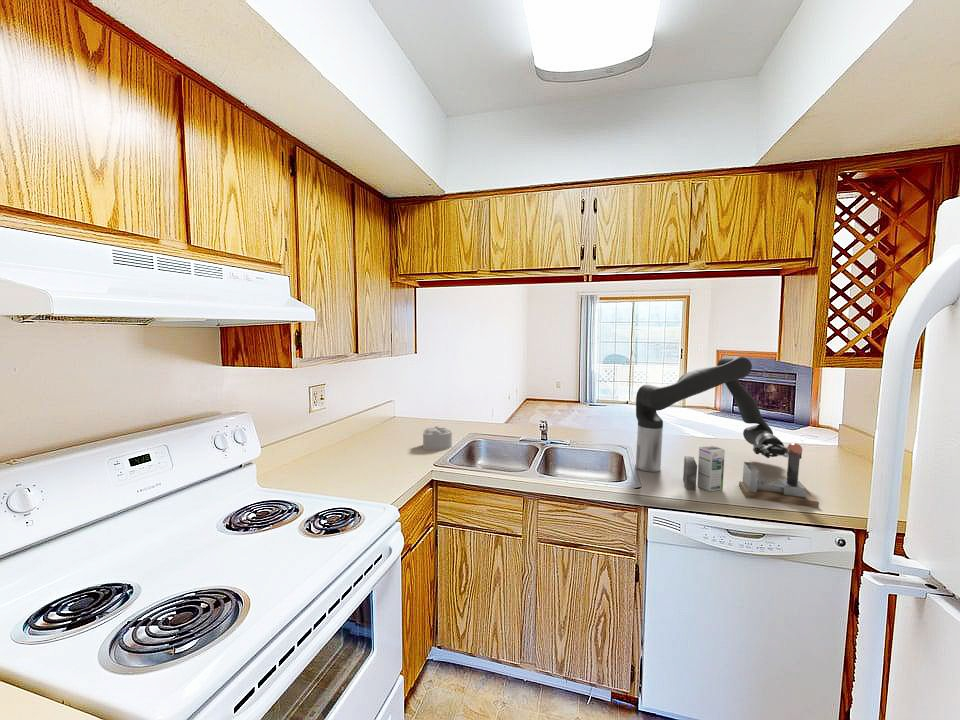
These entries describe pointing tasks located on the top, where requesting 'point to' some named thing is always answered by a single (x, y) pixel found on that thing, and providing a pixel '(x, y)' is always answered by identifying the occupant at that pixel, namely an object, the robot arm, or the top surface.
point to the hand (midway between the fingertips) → (782, 456)
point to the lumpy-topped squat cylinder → (437, 438)
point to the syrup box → (711, 468)
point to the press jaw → (783, 485)
